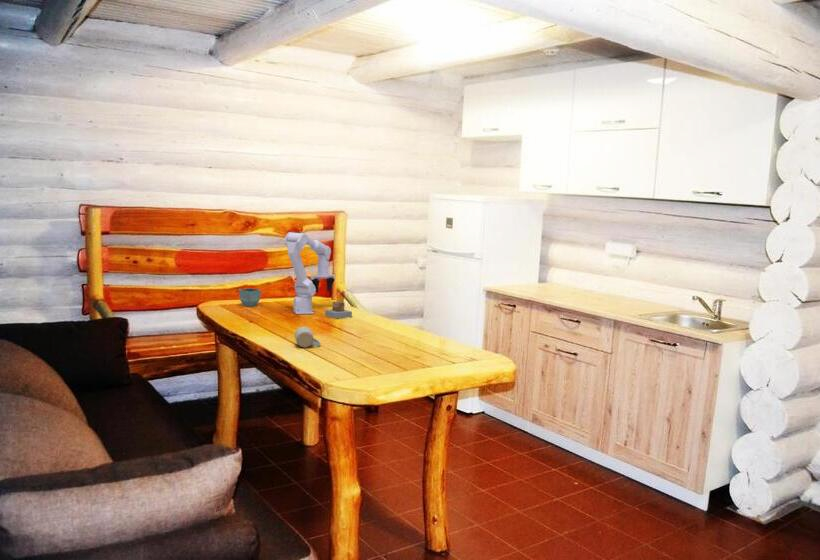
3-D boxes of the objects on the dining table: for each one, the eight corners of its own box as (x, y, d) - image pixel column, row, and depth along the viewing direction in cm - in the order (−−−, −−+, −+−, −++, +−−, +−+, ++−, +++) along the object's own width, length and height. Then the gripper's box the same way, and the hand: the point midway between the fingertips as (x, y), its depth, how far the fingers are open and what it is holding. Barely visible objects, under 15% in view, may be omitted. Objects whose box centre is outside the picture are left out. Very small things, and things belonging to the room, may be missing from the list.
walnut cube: (337, 311, 352) (337, 303, 352) (332, 310, 356) (332, 301, 355) (344, 311, 355) (344, 302, 354) (339, 309, 359) (339, 301, 358)
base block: (335, 319, 349) (335, 313, 348) (325, 315, 356) (325, 310, 356) (351, 317, 355) (351, 311, 355) (341, 314, 363) (341, 308, 362)
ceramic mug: (296, 348, 284) (296, 330, 283) (294, 344, 292) (295, 326, 291) (321, 348, 286) (322, 330, 285) (319, 344, 294) (319, 326, 293)
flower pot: (261, 305, 378) (261, 289, 376) (249, 307, 370) (250, 291, 369) (250, 303, 382) (250, 288, 381) (238, 305, 375) (238, 289, 374)
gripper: (315, 268, 365) (315, 293, 367) (338, 267, 374) (337, 291, 376) (308, 267, 371) (308, 291, 373) (331, 266, 380) (331, 290, 382)
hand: (322, 291), depth 375 cm, fingers open, 7 cm apart
